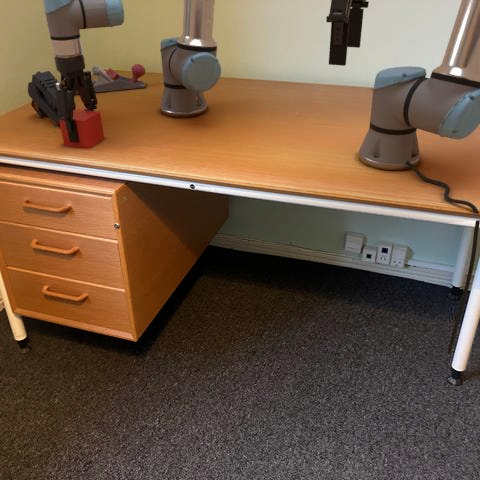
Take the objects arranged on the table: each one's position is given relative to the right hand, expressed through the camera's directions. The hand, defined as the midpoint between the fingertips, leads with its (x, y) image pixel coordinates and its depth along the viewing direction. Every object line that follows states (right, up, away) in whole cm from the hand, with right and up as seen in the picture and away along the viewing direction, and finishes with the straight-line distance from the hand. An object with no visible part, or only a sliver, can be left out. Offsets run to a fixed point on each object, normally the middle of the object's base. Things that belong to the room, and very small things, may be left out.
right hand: (345, 55), depth 92 cm
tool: (-77, +6, +77) cm, 109 cm away
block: (-63, -4, +61) cm, 88 cm away
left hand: (-63, -2, +60) cm, 87 cm away
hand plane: (-68, +24, +106) cm, 128 cm away
